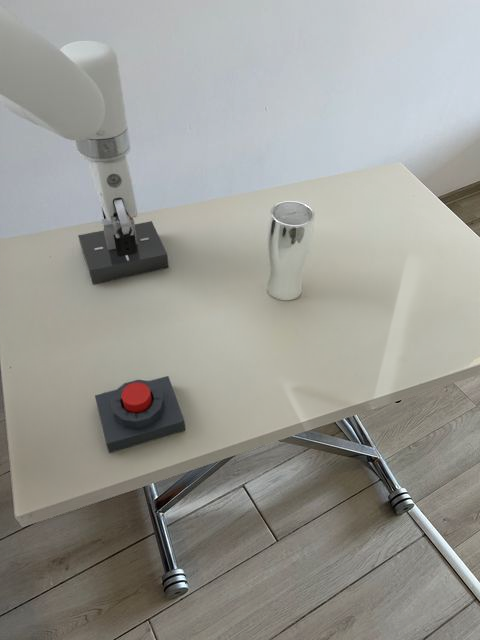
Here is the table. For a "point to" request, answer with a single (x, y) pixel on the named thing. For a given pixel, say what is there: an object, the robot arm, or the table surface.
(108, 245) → the hob knob
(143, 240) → the panel
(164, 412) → the stop block
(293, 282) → the beer glass
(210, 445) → the table surface
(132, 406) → the stop button
